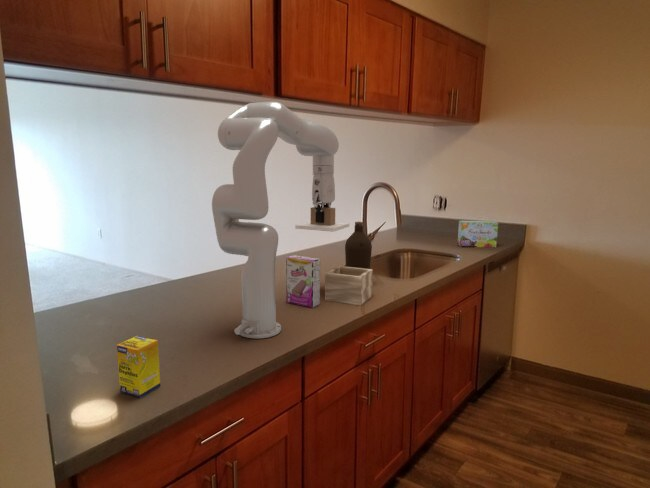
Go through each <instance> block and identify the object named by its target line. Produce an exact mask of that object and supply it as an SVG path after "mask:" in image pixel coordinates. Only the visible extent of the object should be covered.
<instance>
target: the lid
mask: <svg viewBox="0 0 650 488" xmlns="http://www.w3.org/2000/svg"><path fill="white" fill-rule="evenodd" d="M323 212H324V223H317V222H316V211H315V207H314V206H313V207H312V206H311V207H310V221H307V222H304V223H299V224H295V227H294V229H296V230H308V231H309V230H310V231H318V232H319V231H322V232H331V233H332V232H333V233H334V232H338V231H340V230H344V229H346V228H350V223H348V222H338V221H337V222H336V207H330V208H327V207H324V208H323Z"/></svg>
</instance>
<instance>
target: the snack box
mask: <svg viewBox="0 0 650 488" xmlns="http://www.w3.org/2000/svg"><path fill="white" fill-rule="evenodd" d="M457 229H458V231H457V232H458V233H457V242H456V243H457V244H456V245H457V246H458V245H459V246H477V247H476V248H493V247H495V248H497V242H498V230H499V222H498V221H495V220H458V228H457ZM459 246H458V247H459Z"/></svg>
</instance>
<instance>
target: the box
mask: <svg viewBox="0 0 650 488" xmlns="http://www.w3.org/2000/svg"><path fill="white" fill-rule="evenodd" d="M373 271H374V270H373V269H372V268H370V269H364V268H355V267H346V265H344V266H343V265H337V266H335V267H334V268H332V269H330V270H328V271H326V272H325V273H324V301H328V302H334V303H339V304H340V303H341V304H347V305H355V306H361V305H363V304H364V303H366V302H367V301H368V300H369V299H370V298H371V297H373V274H374V273H373Z"/></svg>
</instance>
